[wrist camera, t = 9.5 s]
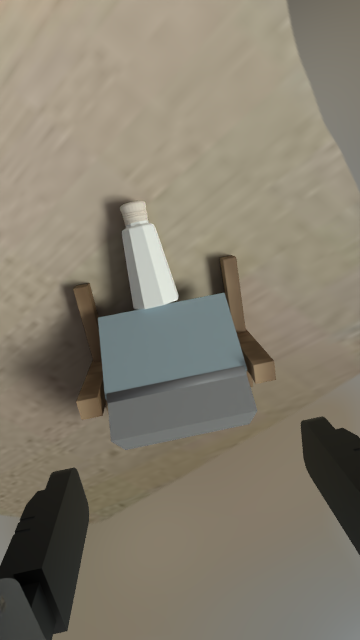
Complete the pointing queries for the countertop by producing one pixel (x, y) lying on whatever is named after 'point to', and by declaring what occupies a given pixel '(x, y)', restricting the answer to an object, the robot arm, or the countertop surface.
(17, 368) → the countertop surface
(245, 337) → the wooden frame stand
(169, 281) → the pepper shaker
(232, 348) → the trapdoor
